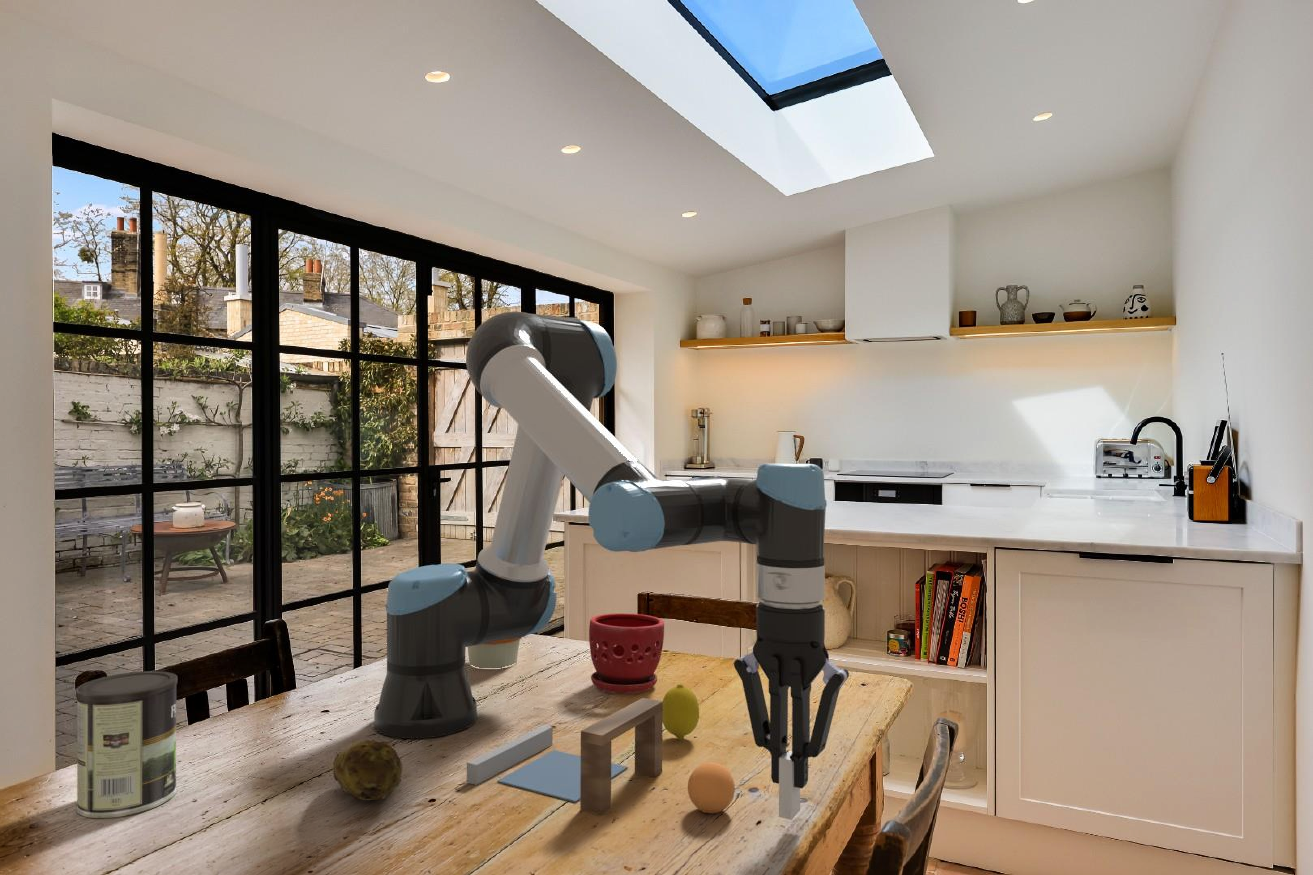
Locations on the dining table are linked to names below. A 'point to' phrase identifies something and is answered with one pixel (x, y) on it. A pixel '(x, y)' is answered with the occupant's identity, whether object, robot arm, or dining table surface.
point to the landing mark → (553, 775)
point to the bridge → (598, 750)
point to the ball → (711, 787)
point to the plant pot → (625, 651)
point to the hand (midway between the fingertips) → (789, 813)
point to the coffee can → (126, 743)
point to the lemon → (680, 711)
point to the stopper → (508, 754)
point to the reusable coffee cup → (494, 653)
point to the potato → (368, 769)
